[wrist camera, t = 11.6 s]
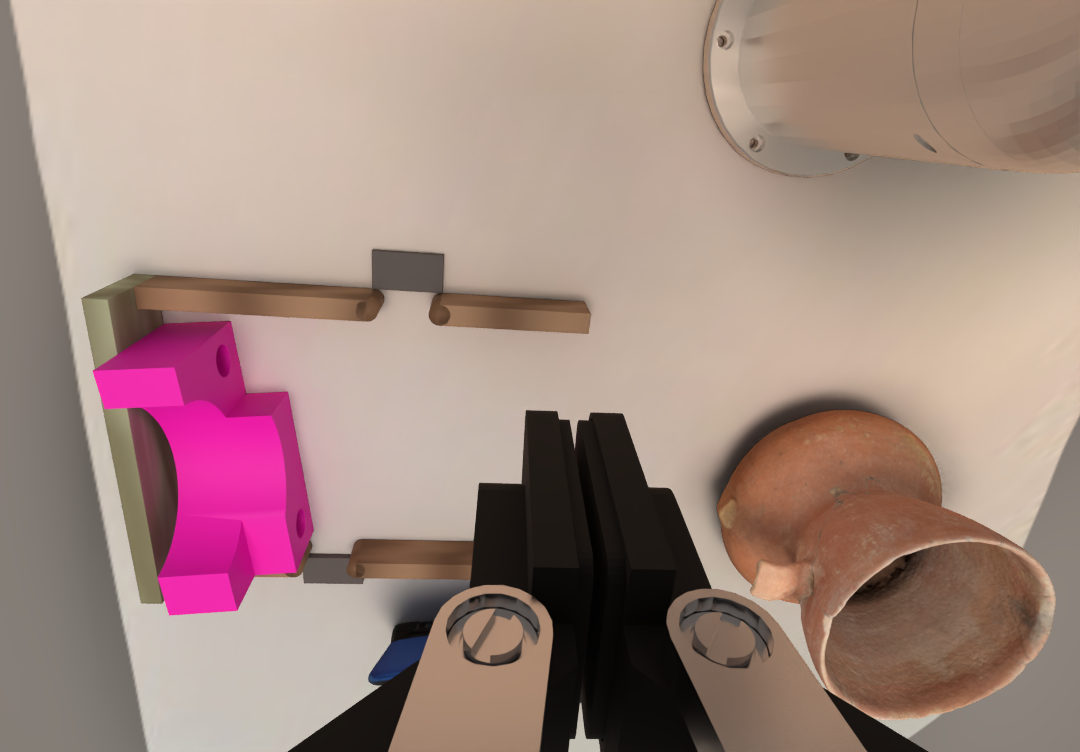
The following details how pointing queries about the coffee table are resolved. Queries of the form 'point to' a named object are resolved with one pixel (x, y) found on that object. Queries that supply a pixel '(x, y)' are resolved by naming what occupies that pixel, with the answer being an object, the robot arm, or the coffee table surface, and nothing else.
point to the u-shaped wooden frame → (140, 298)
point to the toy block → (216, 463)
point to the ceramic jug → (882, 566)
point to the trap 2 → (407, 271)
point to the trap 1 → (328, 569)
